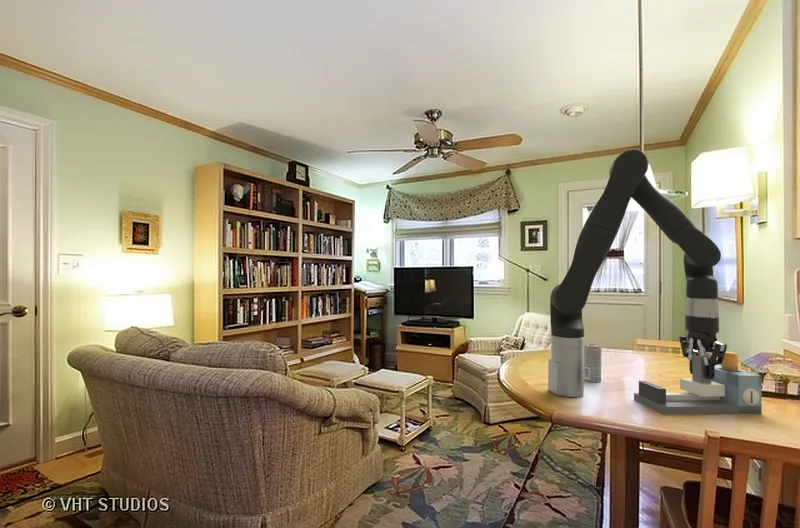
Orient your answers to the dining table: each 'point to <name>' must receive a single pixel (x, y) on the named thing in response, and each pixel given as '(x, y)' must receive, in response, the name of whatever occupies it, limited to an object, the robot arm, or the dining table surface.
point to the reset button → (730, 361)
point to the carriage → (701, 381)
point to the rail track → (690, 406)
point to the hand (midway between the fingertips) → (701, 376)
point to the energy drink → (592, 362)
